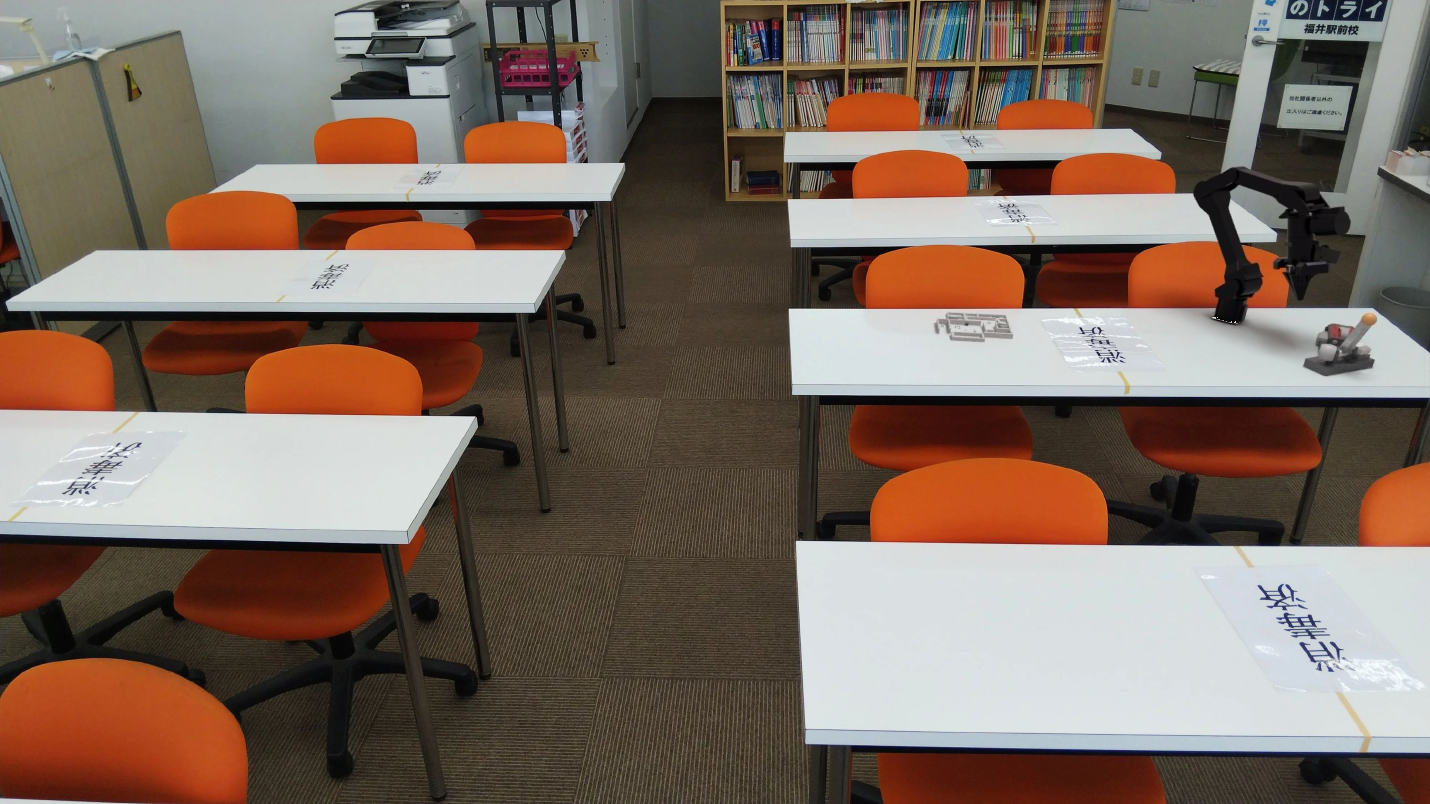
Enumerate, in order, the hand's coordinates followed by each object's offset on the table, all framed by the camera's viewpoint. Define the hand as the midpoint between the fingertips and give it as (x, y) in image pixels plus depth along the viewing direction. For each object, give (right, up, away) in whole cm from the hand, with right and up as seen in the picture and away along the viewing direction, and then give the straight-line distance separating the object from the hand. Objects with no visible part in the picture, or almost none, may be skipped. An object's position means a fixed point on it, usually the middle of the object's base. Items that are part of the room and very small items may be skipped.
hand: (1300, 300), depth 234 cm
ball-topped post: (+4, -14, -10) cm, 17 cm away
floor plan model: (-78, -8, +11) cm, 79 cm away
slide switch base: (+4, -17, -9) cm, 19 cm away
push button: (-1, -16, -11) cm, 19 cm away
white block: (+8, -12, -9) cm, 17 cm away
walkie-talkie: (+11, -11, +4) cm, 16 cm away
